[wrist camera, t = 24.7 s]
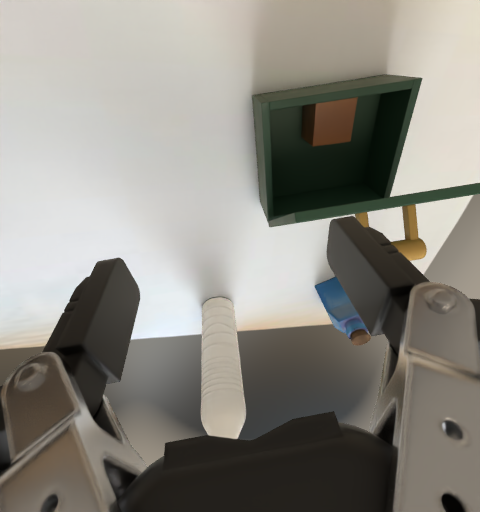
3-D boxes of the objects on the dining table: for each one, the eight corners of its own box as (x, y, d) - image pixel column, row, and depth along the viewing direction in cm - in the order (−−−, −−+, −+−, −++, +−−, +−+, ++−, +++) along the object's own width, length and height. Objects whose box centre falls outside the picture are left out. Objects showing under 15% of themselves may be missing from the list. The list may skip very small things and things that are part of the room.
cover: (294, 212, 19) (304, 284, 19) (507, 178, 19) (511, 250, 19) (268, 221, 33) (274, 262, 33) (389, 201, 33) (393, 242, 33)
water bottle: (205, 319, 54) (205, 470, 34) (198, 299, 50) (195, 456, 30) (246, 313, 54) (269, 459, 34) (242, 292, 50) (267, 444, 30)
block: (303, 96, 29) (316, 101, 26) (340, 91, 29) (358, 96, 26) (301, 137, 32) (312, 146, 29) (335, 132, 32) (350, 141, 29)
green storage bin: (252, 95, 29) (261, 102, 25) (387, 74, 30) (422, 77, 25) (260, 201, 38) (267, 222, 33) (364, 184, 38) (387, 203, 33)
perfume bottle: (350, 291, 53) (382, 342, 44) (322, 303, 54) (347, 354, 45) (344, 273, 49) (376, 323, 40) (314, 285, 51) (339, 337, 41)
